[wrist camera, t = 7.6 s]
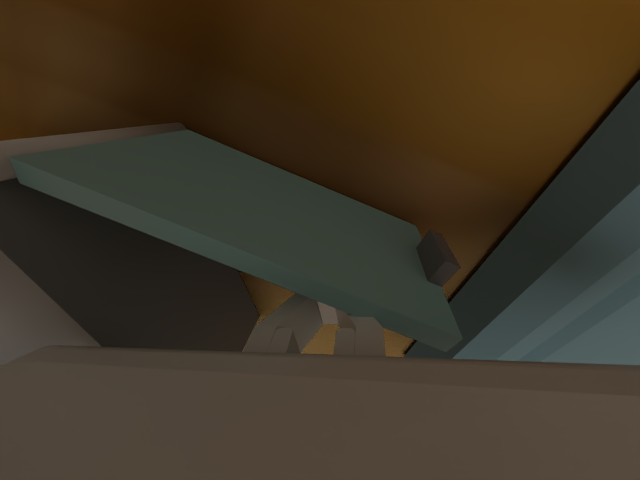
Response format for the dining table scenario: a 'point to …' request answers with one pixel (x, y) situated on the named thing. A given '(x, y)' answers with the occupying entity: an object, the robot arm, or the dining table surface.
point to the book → (565, 264)
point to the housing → (108, 284)
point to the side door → (250, 220)
